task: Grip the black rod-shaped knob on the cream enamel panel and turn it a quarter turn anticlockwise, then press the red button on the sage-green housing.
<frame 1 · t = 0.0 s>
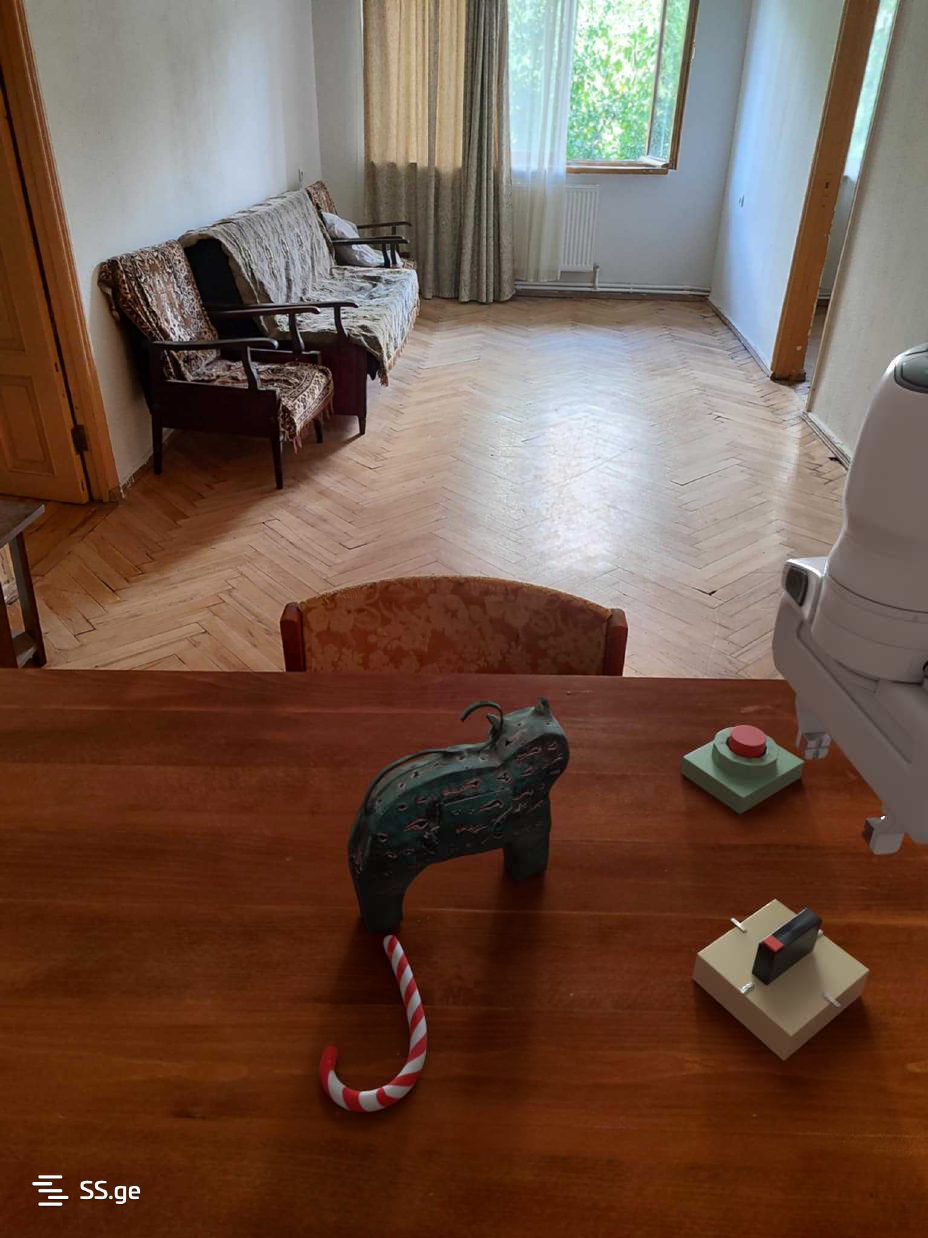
hand: (842, 796, 60), 21 cm above the table, tool pointing down, fingers open, 8 cm apart
rod knob: (787, 945, 69), point 5 cm above the table, hinge at 0.0°
candy cane: (377, 1022, 69), on the table
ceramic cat: (461, 893, 80), on the table
red button: (747, 742, 93), point 4 cm above the table, slide at 0.1 cm
knob panel: (775, 986, 72), on the table
button box: (740, 775, 95), on the table
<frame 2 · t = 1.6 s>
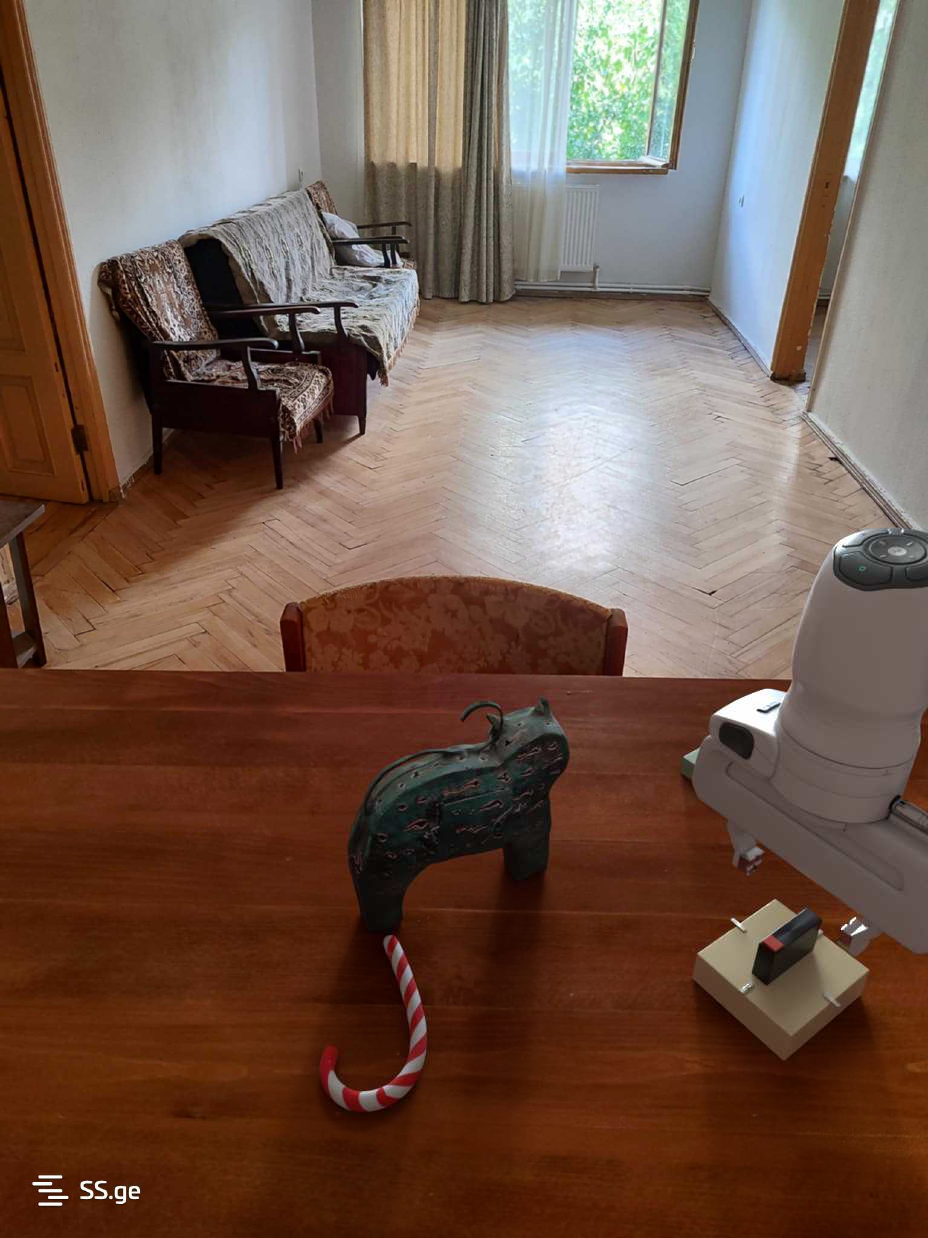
hand: (795, 905, 67), 9 cm above the table, tool pointing down, fingers open, 8 cm apart
nothing on the table moved.
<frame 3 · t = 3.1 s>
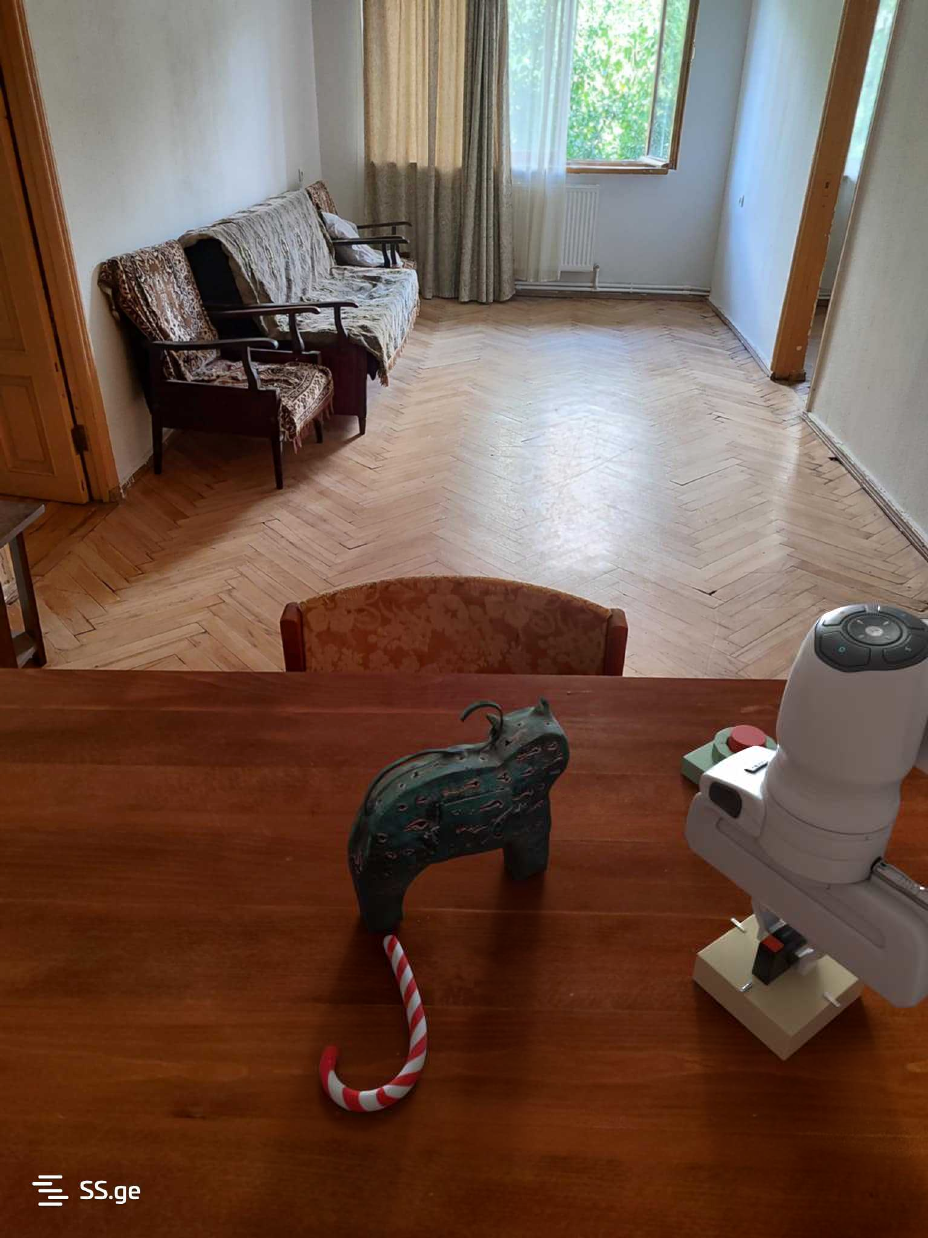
hand: (784, 953, 70), 4 cm above the table, tool pointing down, fingers closed on rod knob
rod knob: (787, 945, 69), point 5 cm above the table, hinge at 0.0°, touching gripper
everything else where it was.
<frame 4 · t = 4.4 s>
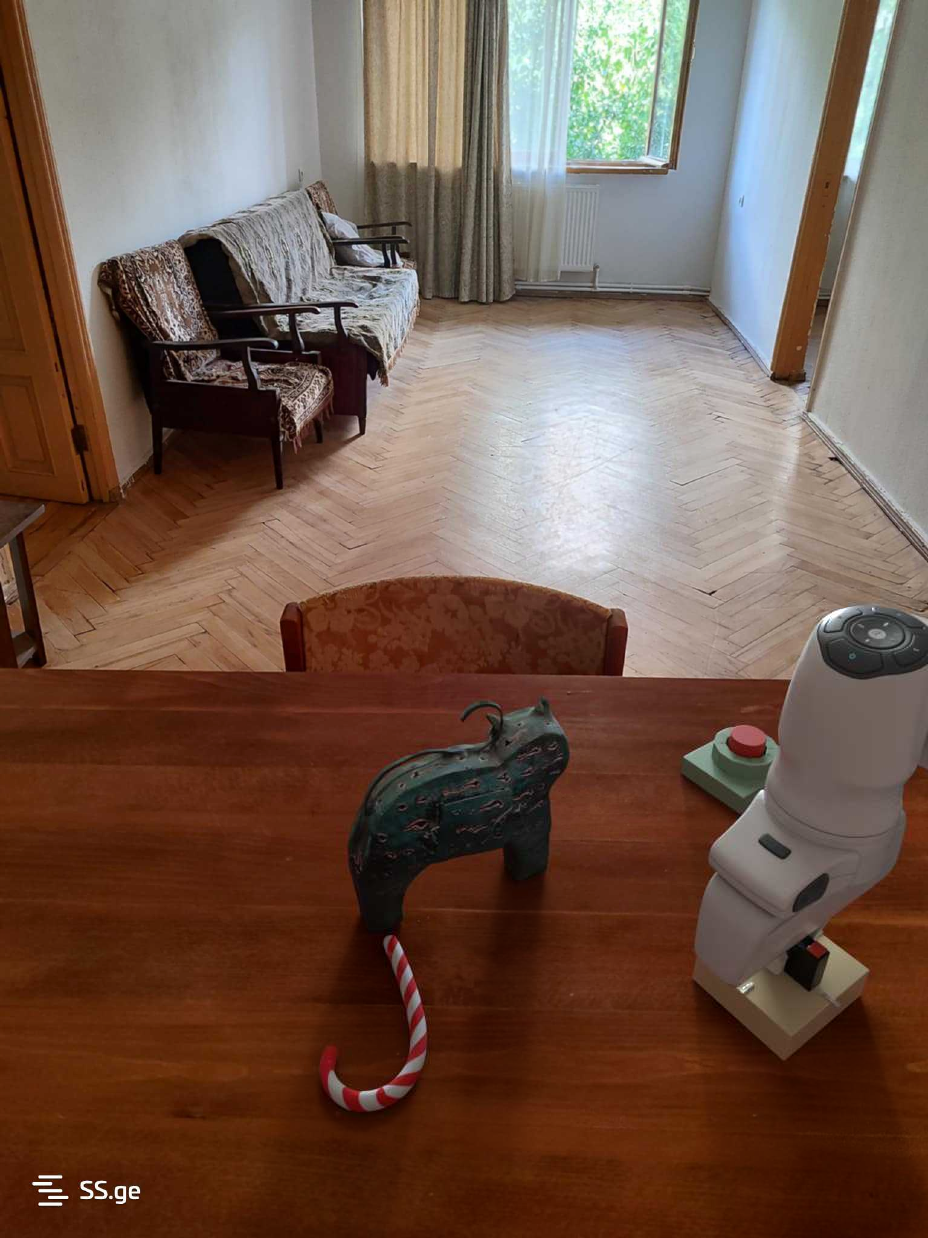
hand: (786, 956, 70), 4 cm above the table, tool pointing down, fingers closed
rod knob: (787, 945, 69), point 5 cm above the table, hinge at 89.7°
everything else where it was.
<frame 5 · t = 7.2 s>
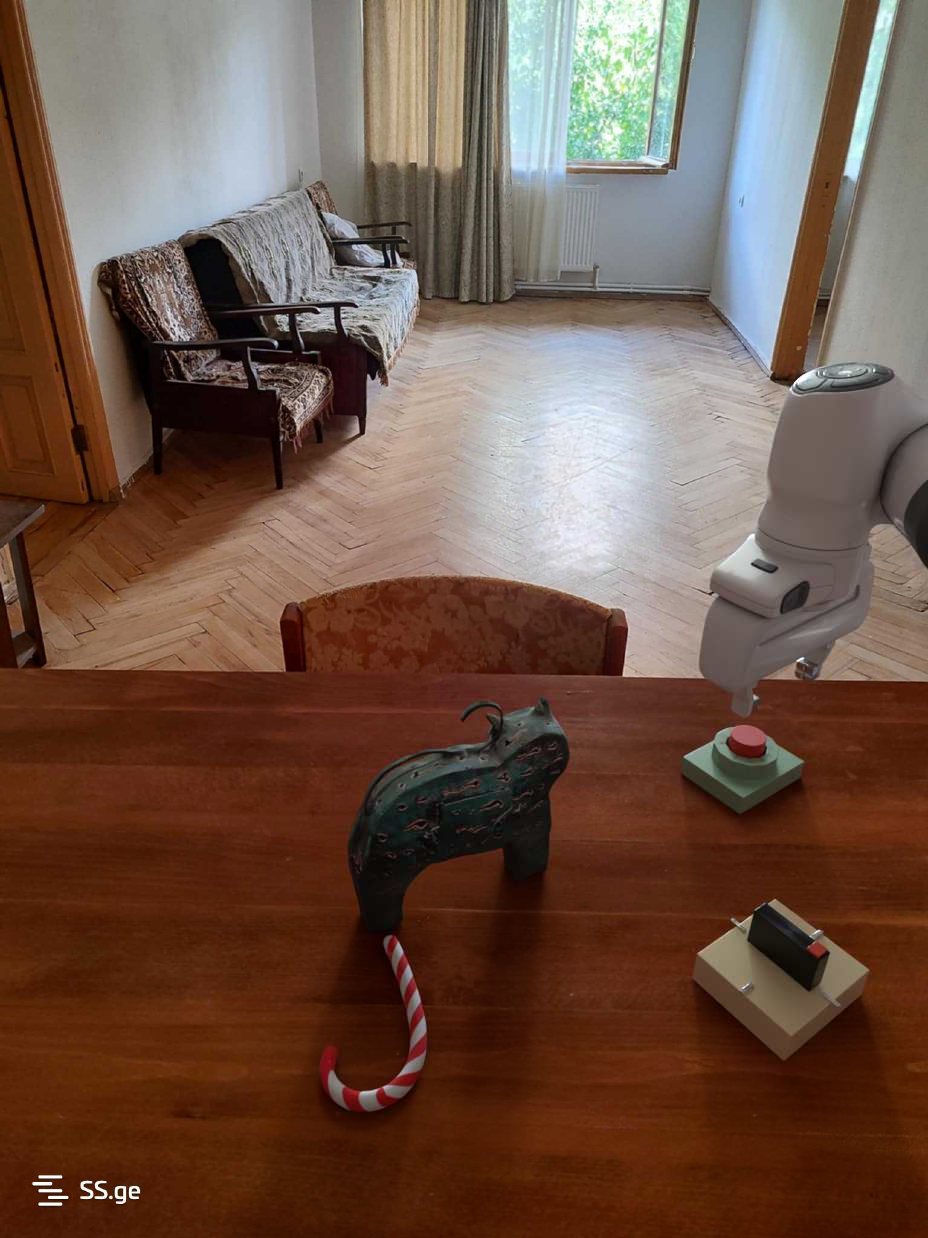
hand: (775, 694, 82), 15 cm above the table, tool pointing down, fingers open, 8 cm apart
nothing on the table moved.
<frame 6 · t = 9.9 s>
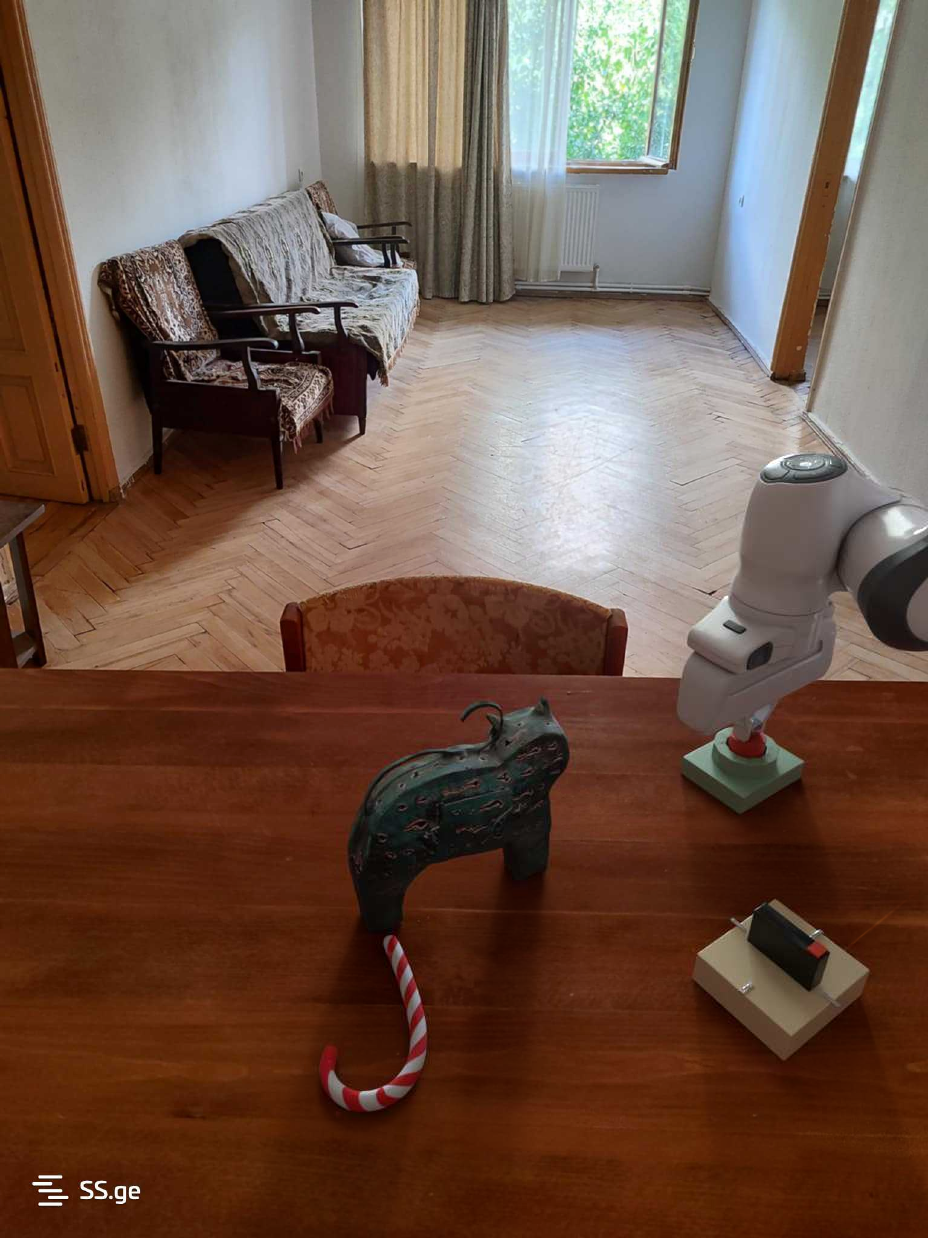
hand: (747, 734, 92), 5 cm above the table, tool pointing down, fingers closed, pressing on red button
red button: (747, 742, 93), point 4 cm above the table, slide at 0.0 cm, touching gripper
everything else where it was.
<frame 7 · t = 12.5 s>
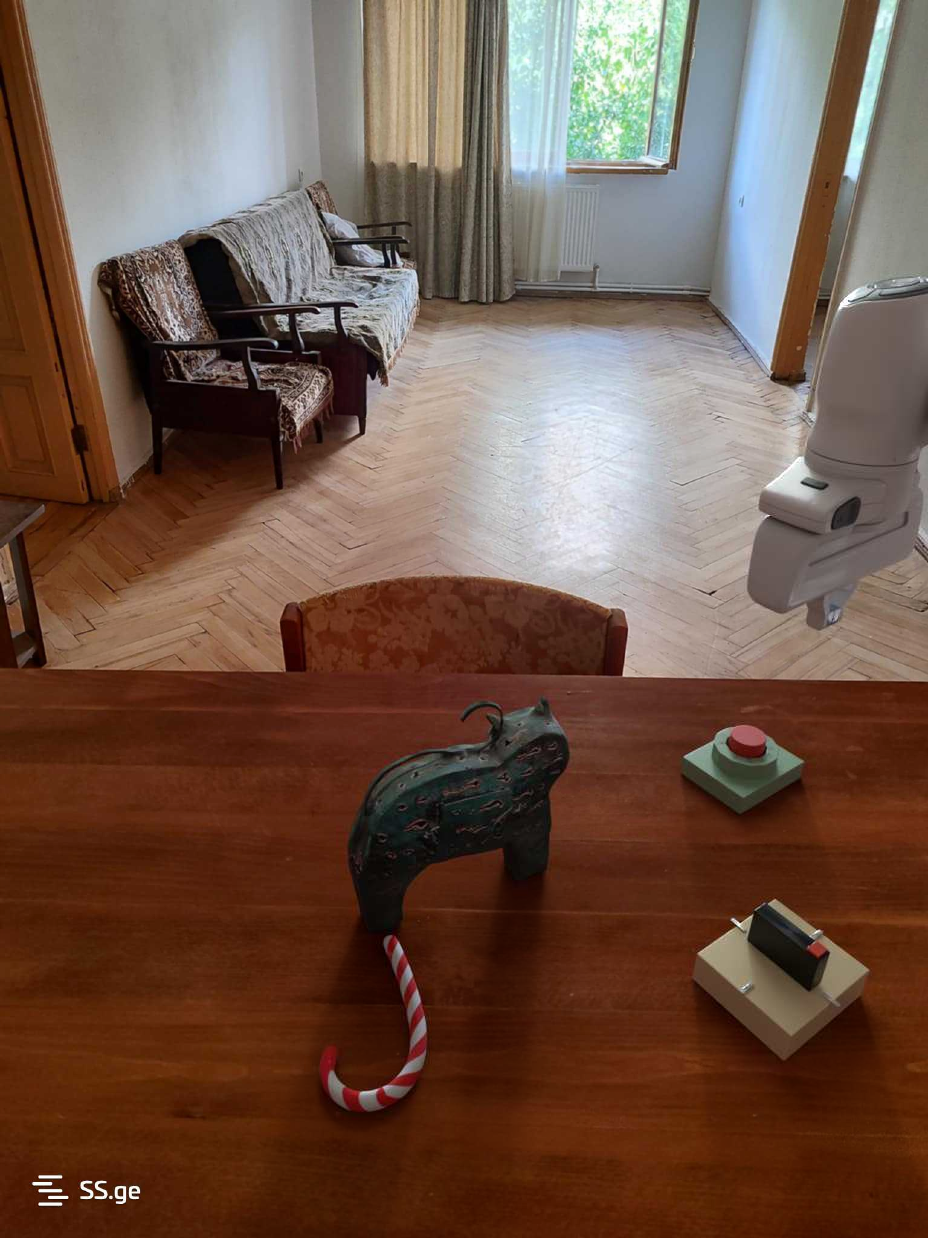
hand: (822, 623, 81), 21 cm above the table, tool pointing down, fingers closed
red button: (747, 742, 93), point 4 cm above the table, slide at 0.1 cm
everything else where it was.
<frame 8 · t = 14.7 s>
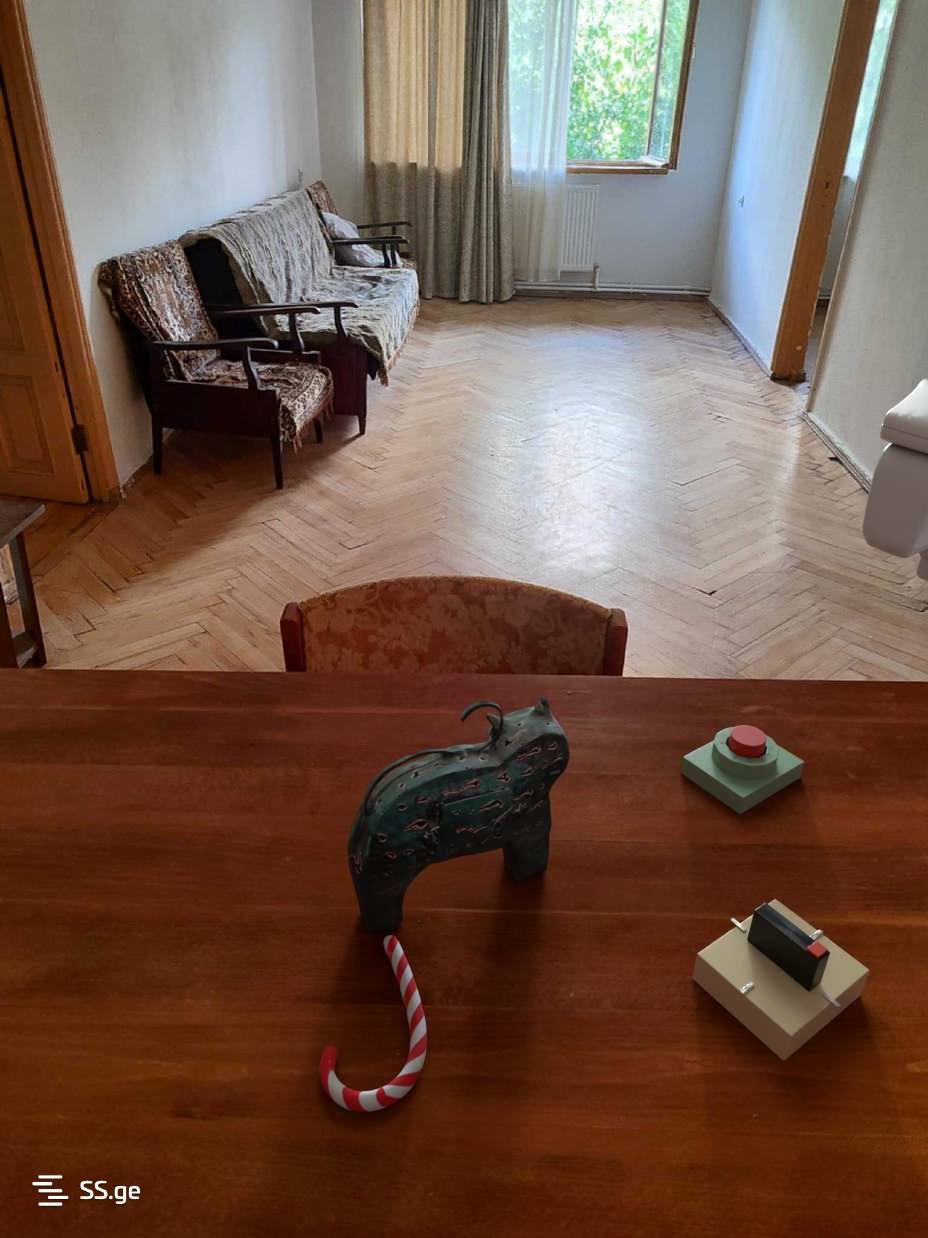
nothing on the table moved.
at the end: rod knob at +90° (first picture: +0°); red button pushed in 1.0 cm at the most during the clip, back to where it started at the end; red button slide at 0.1 cm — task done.
